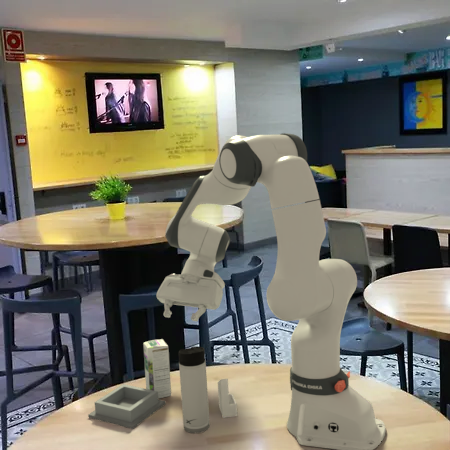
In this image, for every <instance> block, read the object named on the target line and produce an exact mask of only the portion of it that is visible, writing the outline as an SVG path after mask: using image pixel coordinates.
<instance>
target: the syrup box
mask: <svg viewBox="0 0 450 450" xmlns="http://www.w3.org/2000/svg"><path fill="white" fill-rule="evenodd" d="M142 345H143V358H144V374H145V375H144V377H145V389H149V390H153V391H158V399H159V400H160V399H163V398H168V397H171V396H172V387H171V383H172V382H171V370H170V369H171V367H170V352H169V345H168V344H167V342H166V341H165V340H164V339H163V338H161V339H152V340H148V341H145V342H143V344H142Z"/></svg>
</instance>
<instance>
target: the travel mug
mask: <svg viewBox="0 0 450 450" xmlns="http://www.w3.org/2000/svg"><path fill="white" fill-rule="evenodd" d="M205 350H206V349H205V348H204V347H201V346H192V347H188V348H181V349H179V350H178V365H179V367H178V368H179V379H180V380H179V383H180V394H181V395H180V397H181V407H182V409H181V410H182V423H183V425H182V426H183V430H184V431H186V432H187V433H190V434H200V433H204V432H206V431H208V429H209V428H210V425H211V424H210V409H209V398H208V397H209V396H208V395H209V393H208V378H207V365H206V364H207V363H206V351H205Z"/></svg>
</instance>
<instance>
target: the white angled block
mask: <svg viewBox="0 0 450 450" xmlns="http://www.w3.org/2000/svg"><path fill="white" fill-rule="evenodd" d="M229 390H230V389H229V378H221V379H219V380H218V382H217V391H218V395H217V396H218V407H219V411H220V413H221V417H222V418H223V419H224V418H231V417H237V416H238V405H237V401H236V399H235V396H234V394H233V393H229Z"/></svg>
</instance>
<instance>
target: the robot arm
mask: <svg viewBox="0 0 450 450" xmlns="http://www.w3.org/2000/svg"><path fill="white" fill-rule="evenodd" d="M257 183H258V184H261V185H264V187H265V188H266V190H267V192H268V196H269V197H268V198H269V203H270V208H271V213H272V219H273V224H274V229H275V234H276V239H277V240H276V241H277V257H276V264H275V265H276V266H275V271H274V274H273V277H272V279H271V281H270V282H269V284H268V286H267V288H266V301H267V302H266V303H267V305H268V307H269V310H270V311H271V314H273V315H274V316H275V317H276V318H277V319H279V320H282V321H284V322H291V321H292V322H294V321H298V323H297V325H296V326H295V328H294V330H293V331H292V334H291V337H290V349H291V350H290V353H291V354H290V355H291V366H290V370H289V372H290V373H289V384H290V391H291V399H290V410H289V415H288V419H287V422H286V427H287V430H288V431H289V433H291V434H292V436H294V437H295V438H296V440H297V442H298V444H299V445H301V446H307V447H313V448H315V447H316V448H323V449H332V450H375V449H376V448H377V447H379V446H380V444H381V443H382V442H383V440H384V439H385V436H386V432H387V431H386V424H385V423H384V421H383V420H381V419H380V418H376V415H375V409H374V407H373V405H372V403H371V402H370V401H369V400H368V399H367V398H366V397H364V396H363V395H362V394H361V393H359V392H358V391H357V390H355V388H353V387H352V386H351V385H350V384H349V381H350V380H349V378H350V377H351V371H347V373H345V371H343V369H342V367H341V353H340V352H341V350H340V349H341V346H340V345H341V343H340V342H341V332H342V329H343V328H342V327H343V323H344V319H345V315H346V311H347V307H348V305H349V302H350V300H351V298H352V296H353V294H354V293H355V291H356V290H357V289H356V288H357V287H358V278H357V277H358V276H357V274H356V271H355V269H354V268H353V265H351V264H350V262H348V261H346V260H344V259H341V258H325V259H321V260H320V254H321V253H320V251H321V247H322V244H323V242H324V241H325V239H326V235H327V229H326V228H327V226H326V223H325V218H324V214H323V213H324V212H323V209H322V204H321V199H320V195H319V192H318V188H317V184H316V182H315V179H314V175H313V173H312V170H311V168H310V166H309V164H308V151H307V146H306V144H305V142H304V140H303V139H302V138H301V137H300V136H299V135H297V134H294V133H286V132H283V133H279V134H257V135H256V134H255V135H251V136H246V135H235V136H232V137H230V138H228V139H227V140H226V141H225V142H224V145H223V146H222V147H221V149H220V152H218V155H217V158H216V160H215V162H214V165H213V167H212V170H211V171H210V172H209V173H208V174H206V175H200V176H198V177H197V179H196V180H195V181H194V182H193V184H192V185H191V187H190V188H189V190H188V192H187V193H186V195H185V197H184V198H183V201H182V202H181V204H180V206H179V207H178V209H177V211H176V213H175V214H174V215H173V216H172V218H171V219H170V220H169V221H168V223H167V225H166V228H165V234H164V236H165V238H166V240H167V242H168V244H169V246H171V247H174V248H176V249H180V250H181V249H183V250H185V251H188V252H190V253H189V257H188V259H187V260H186V261H185V264H184V266H183V269H182V270H181V274H176V273H171V274H169V275H167V276H165V278H164V280H163V281H162V283H161V284H160V286H159V288H158V290H157V292H156V293H155V294H156V298H157V300H158V301H159V302H160V303H162V304H163V305H164V306H163V307H164V311H163V316H164V317H165V318H171V315H172V314H173V313H172V311H171V310H170V308H171V307H172V306H173V305H176V306H184V307H191V308H198V309H197V310H196V311H195V313H194V312H192V314H191V316H190V320H191V321H192V322H198V321H199V319H200V317H201V316H202V315H203V314H205V312H206V310H214V311H216V310H217V309H219V308H220V305H221V303H222V299H223V297H224V296H223V295H224V291H223V289H224V288H225V285H226V283H225V282H224V280H223V278H222V277H221V275H219V274H218V273H217V272H216V271H215V266H216V264H217V263H219V262H221V261H223V260H224V259H225V257H226V256H225V255H226V251H227V249H228V247H229V245H230V243H231V237H230V236H229V233H228V232H227V230H226V229H224V228H222V227H220V226H217V225H215V224H212V223H209V222H207V221H204V220H202V219H200V218H199V219H198V218H196V217H194V216H193V215H192V214H194V211H195V209H196V208H197V207H198V206H200V205H218V206H219V205H220V206H232V205H236V204H238V203H240V202H241V201H243V200H244V199H245V198H246V197H247V196H248V194H249V192H250V191H251V188H253V187H255V186H256V184H257ZM381 441H382V442H381ZM378 445H379V446H378Z"/></svg>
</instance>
